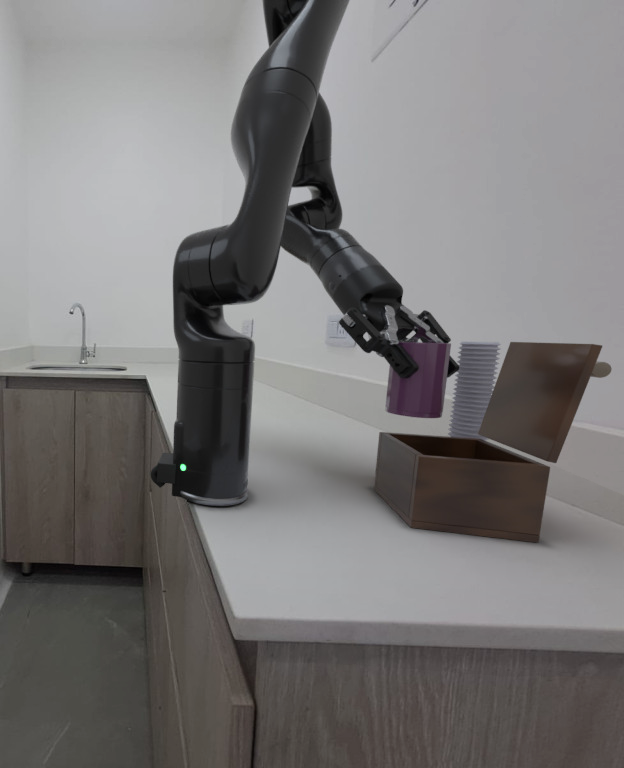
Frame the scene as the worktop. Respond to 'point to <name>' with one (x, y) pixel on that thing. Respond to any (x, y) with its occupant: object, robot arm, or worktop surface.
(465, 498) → the chest
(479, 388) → the screw
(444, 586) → the worktop surface
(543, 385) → the lid
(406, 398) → the cup
